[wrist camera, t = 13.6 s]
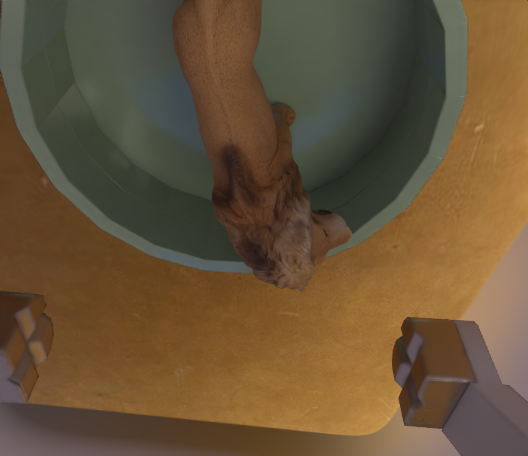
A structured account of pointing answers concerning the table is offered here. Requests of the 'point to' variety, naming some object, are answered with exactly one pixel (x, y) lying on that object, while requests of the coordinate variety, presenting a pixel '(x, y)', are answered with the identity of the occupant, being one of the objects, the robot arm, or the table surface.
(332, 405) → the table surface
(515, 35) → the table surface
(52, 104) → the bowl
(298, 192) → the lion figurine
